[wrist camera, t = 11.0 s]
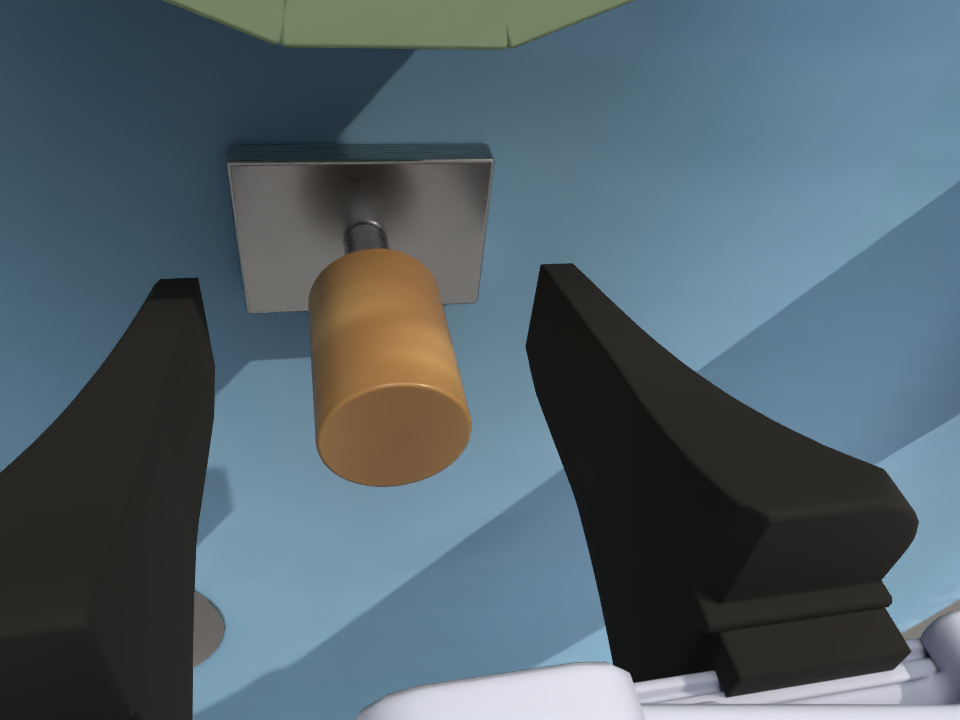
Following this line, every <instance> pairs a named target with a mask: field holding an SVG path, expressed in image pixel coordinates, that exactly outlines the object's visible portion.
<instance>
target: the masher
mask: <svg viewBox="0 0 960 720" xmlns="http://www.w3.org/2000/svg"><path fill="white" fill-rule="evenodd" d="M226 169H227V176H228V184H229V191H230V198H231V205H232V212H233V219H234V226H235V233H236V240H237V248H238V255H239V262H240V269H241V276H242V283H243V290H244V297H245V304H246V310H247V312H248V313H250V314H257V313H278V312H299V311H309V328H310V346H311V364H312V382H313V400H314V418H315V436H316V447H317V451H318V454H319V456H320V458H321V459H322V461H323V462H324V464H325V465H326V466H327V467H328V468H329V469H330V470H331V471H332V472H333V473H335V474H336V475H338V476H340V477H341V478H343V479H346V480H348V481H351V482H354V483H357V484H362V485H367V486H376V487H389V486H399V485H405V484H410V483H414V482H417V481H421V480H423V479H426V478H428V477H431V476H433V475H435V474H437V473H439V472H440V471H442V470H443V469H445V468H446V467H448V466H449V465H450V464H452V463H453V462H454V461H455V460H456V459H457V458H458V457H459V456H460V454H461V453H462V452H463V450H464V449H465V447H466V446H467V443H468V441H469V438H470V434H471V418H470V413H469V409H468V405H467V401H466V397H465V393H464V389H463V385H462V381H461V377H460V373H459V369H458V365H457V361H456V357H455V353H454V349H453V345H452V341H451V337H450V333H449V329H448V325H447V321H446V316H445V312H444V308H443V305H445V304H465V303H476V302H477V300H478V293H479V285H480V277H481V269H482V260H483V252H484V244H485V236H486V227H487V219H488V211H489V203H490V194H491V186H492V178H493V169H494V158H493V156H492V154H491V151H490V149H489V146H488V145H487V144H349V145H230V146H228V148H227V155H226Z"/></svg>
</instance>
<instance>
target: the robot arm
mask: <svg viewBox="0 0 960 720" xmlns="http://www.w3.org/2000/svg"><path fill="white" fill-rule="evenodd" d="M526 351H527V356H528V361H529V365H530V370H531V374H532V379H533V383H534V387H535V391H536V394H537V397H538V400H539V403H540V406H541V408H542V411H543V414H544V416H545V419H546V422H547V424H548V427H549V430H550V432H551V435H552V438H553V440H554V443H555V446H556V448H557V451H558V454H559V456H560V459H561V461H562V464H563V467H564V469H565V472H566V475H567V477H568V480H569V483H570V485H571V488H572V491H573V494H574V497H575V500H576V503H577V506H578V510H579V514H580V518H581V522H582V526H583V530H584V533H585V537H586V541H587V545H588V549H589V553H590V558H591V562H592V566H593V571H594V575H595V579H596V583H597V588H598V592H599V596H600V601H601V606H602V611H603V616H604V621H605V625H606V630H607V635H608V640H609V645H610V650H611V656H612V661H613V665H612V664H609V663H607V662H574V663H567V664H560V665H553V666H547V667H540V668H533V669H527V670H520V671H513V672H506V673H500V674H493V675H486V676H480V677H473V678H466V679H459V680H453V681H446V682H439V683H433V684H426V685H420V686H417V687H413V688H409V689H405V690H402V691H398V692H394V693H390V694H388V695H386V696H384V697H382V698H381V699H379V700H377V701H375V702H374V703H372V704H370V705H368V706H367V707H365V708H364V709H363V710H362V711H361V712H360V713H359V714H358V716H357V718H356V719H355V720H960V610H956V611H952V612H949V613H947V614H945V615H942V616H940V617H938V618H937V619H936V620H934V621H933V622H932V623H931V624H930V625H929V626H928V627H927V628H926V629H925V631H924V632H923V633H922V635H921V638H916V639H910V640H904V638H903V636H902V635H901V633H900V632H899V630H898V628H897V627H896V625H895V623H894V622H893V620H892V618H891V617H890V615H889V614H888V612H887V610H886V609H885V607H889V606H890V604H891V603H892V597H891V595H890V593H889V592H888V590H887V589H886V587H885V585H884V584H883V582H882V581H881V580H882V579H883V578H884V576H885V575H886V574H887V573H888V572H889V570H890V569H891V568H892V567H893V566H894V564H895V563H896V562H897V561H898V560H899V558H900V557H901V556H902V555H903V554H904V553H905V551H906V550H907V549H908V547H909V546H910V544H911V543H912V541H913V540H914V538H915V535H916V532H917V527H918V523H919V521H918V518H917V516H916V513H915V511H914V510H913V508H912V507H911V506H910V504H909V503H908V501H907V500H906V499H905V497H904V496H903V494H902V493H901V492H900V490H899V489H898V487H897V486H896V485H895V483H894V482H893V480H892V479H891V478H890V476H889V475H888V474H887V472H886V471H885V470H884V469H882V468H880V467H877V466H874V465H872V464H869V463H867V462H864V461H862V460H859V459H857V458H854V457H852V456H849V455H847V454H844V453H842V452H839V451H837V450H834V449H832V448H829V447H827V446H825V445H822V444H820V443H818V442H816V441H814V440H812V439H810V438H808V437H805V436H803V435H801V434H799V433H797V432H795V431H793V430H791V429H789V428H787V427H785V426H783V425H781V424H779V423H777V422H775V421H773V420H771V419H770V418H768V417H766V416H764V415H763V414H761V413H759V412H757V411H756V410H754V409H752V408H750V407H749V406H747V405H745V404H743V403H742V402H740V401H738V400H737V399H735V398H733V397H732V396H730V395H729V394H727V393H725V392H724V391H722V390H721V389H719V388H718V387H716V386H715V385H713V384H712V383H711V382H709V381H708V380H706V379H705V378H703V377H702V376H700V375H699V374H697V373H696V372H695V371H693V370H692V369H690V368H689V367H688V366H686V365H685V364H684V363H682V362H681V361H680V360H679V359H677V358H676V357H675V356H674V355H672V354H671V353H670V352H669V351H667V350H666V349H665V348H664V347H662V346H661V345H660V344H659V343H658V342H656V341H655V340H654V339H653V338H652V337H651V336H649V335H648V334H647V333H646V332H645V331H644V330H642V329H641V328H640V327H639V326H638V325H637V324H636V323H635V322H634V321H632V320H631V319H630V318H629V317H628V316H627V315H626V314H625V313H624V312H623V311H622V310H621V309H620V308H618V307H617V306H616V305H615V304H614V303H613V302H612V301H611V300H610V299H609V298H608V297H607V296H606V295H605V294H604V293H603V292H602V291H601V290H600V289H599V288H598V287H597V286H596V285H595V284H594V283H593V282H591V281H590V280H589V279H588V278H587V277H586V276H585V275H584V274H583V273H582V272H581V271H580V270H579V269H578V268H577V267H576V266H575V265H574V264H572V263H568V264H542V265H541V266H540V271H539V277H538V282H537V287H536V293H535V298H534V304H533V309H532V315H531V320H530V325H529V331H528V336H527V342H526ZM214 395H215V364H214V359H213V354H212V348H211V343H210V338H209V332H208V327H207V322H206V316H205V311H204V306H203V300H202V295H201V290H200V285H199V279H198V278H177V279H160V280H159V281H158V282H157V283H156V284H155V285H154V286H153V288H152V290H151V292H150V293H149V295H148V297H147V298H146V300H145V302H144V303H143V305H142V307H141V308H140V310H139V312H138V313H137V315H136V316H135V318H134V319H133V321H132V322H131V324H130V326H129V327H128V329H127V330H126V332H125V333H124V335H123V336H122V337H121V339H120V340H119V342H118V343H117V344H116V346H115V347H114V349H113V350H112V351H111V353H110V354H109V356H108V357H107V358H106V360H105V361H104V363H103V364H102V365H101V367H100V368H99V369H98V370H97V372H96V373H95V374H94V375H93V377H92V378H91V379H90V380H89V382H88V383H87V384H86V385H85V386H84V388H83V389H82V390H81V391H80V393H79V394H78V395H77V396H76V398H75V399H74V400H73V401H72V402H71V403H70V405H69V406H68V407H67V408H66V409H65V410H64V411H63V412H62V413H61V415H60V416H59V417H58V418H57V419H56V420H55V421H54V422H53V423H52V424H51V425H50V426H49V427H48V428H47V429H46V430H45V431H44V432H43V433H42V434H41V435H40V436H39V437H38V438H37V439H36V440H35V441H34V442H33V443H32V444H31V445H30V446H29V447H28V448H27V449H26V450H25V451H24V452H23V453H22V454H20V455H19V456H18V457H17V458H16V459H15V460H14V461H13V462H12V463H11V464H10V465H8V466H7V467H6V468H5V469H4V470H3V471H2V472H0V720H193V718H192V706H193V633H194V593H195V564H196V544H197V534H198V524H199V517H200V510H201V503H202V496H203V490H204V483H205V476H206V469H207V463H208V456H209V449H210V442H211V435H212V428H213V420H214Z"/></svg>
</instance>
